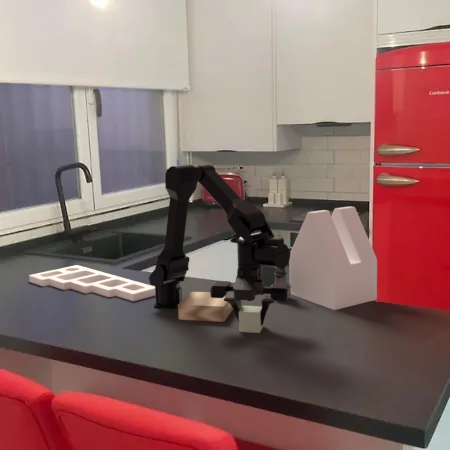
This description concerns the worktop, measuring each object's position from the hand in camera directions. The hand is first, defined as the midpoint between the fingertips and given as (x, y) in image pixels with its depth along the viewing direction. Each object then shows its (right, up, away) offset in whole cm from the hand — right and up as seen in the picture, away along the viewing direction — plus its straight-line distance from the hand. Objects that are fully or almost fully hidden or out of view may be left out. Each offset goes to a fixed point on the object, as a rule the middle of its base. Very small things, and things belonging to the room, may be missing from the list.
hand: (251, 324), depth 152 cm
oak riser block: (-11, +1, +13) cm, 17 cm away
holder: (-48, +4, +42) cm, 64 cm away
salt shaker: (+9, +3, +24) cm, 26 cm away
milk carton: (+24, +4, +25) cm, 35 cm away
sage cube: (0, -1, 0) cm, 1 cm away
